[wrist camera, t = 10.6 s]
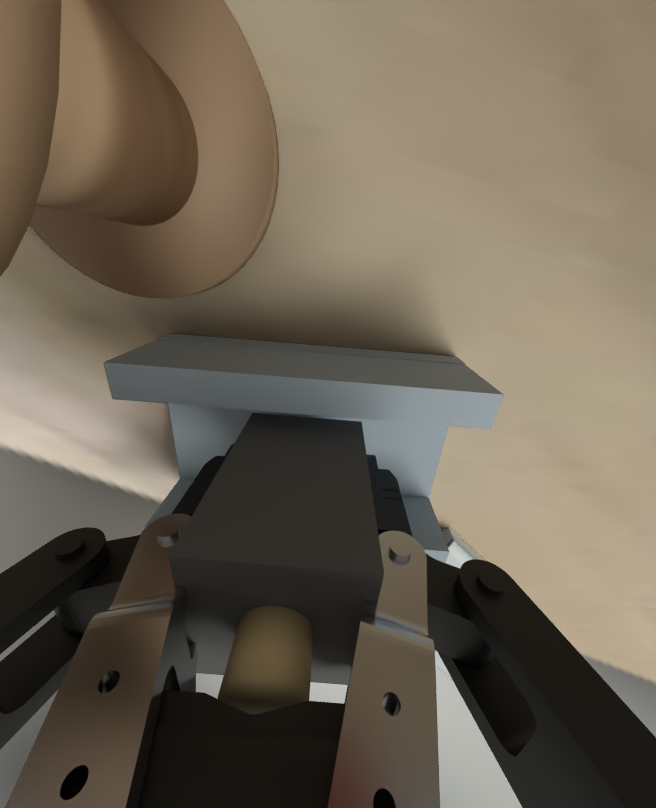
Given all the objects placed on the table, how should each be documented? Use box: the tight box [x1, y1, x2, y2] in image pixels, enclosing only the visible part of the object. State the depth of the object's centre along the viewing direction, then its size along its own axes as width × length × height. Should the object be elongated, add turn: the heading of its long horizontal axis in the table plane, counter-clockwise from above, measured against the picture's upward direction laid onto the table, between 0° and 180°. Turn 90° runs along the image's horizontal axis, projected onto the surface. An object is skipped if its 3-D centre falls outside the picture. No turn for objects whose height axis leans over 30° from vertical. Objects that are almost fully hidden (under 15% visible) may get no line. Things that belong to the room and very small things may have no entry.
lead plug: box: [168, 413, 384, 715], centre depth 9 cm, size 4×4×7 cm
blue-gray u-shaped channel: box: [104, 333, 503, 563], centre depth 12 cm, size 12×8×4 cm, turn 86°
